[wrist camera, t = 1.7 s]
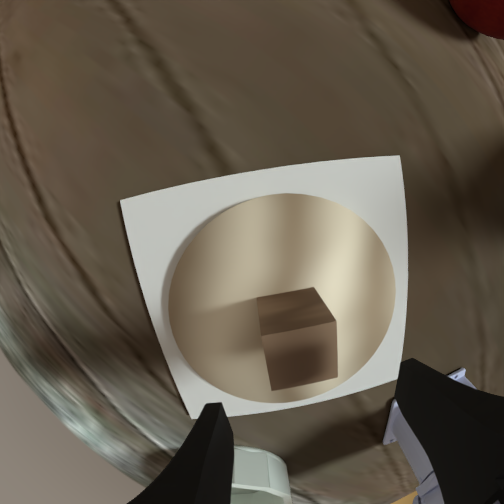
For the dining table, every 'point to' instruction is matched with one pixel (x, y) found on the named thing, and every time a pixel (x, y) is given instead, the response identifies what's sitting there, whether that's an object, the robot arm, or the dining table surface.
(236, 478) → the bowl
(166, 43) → the dining table surface
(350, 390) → the mat
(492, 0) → the apple
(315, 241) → the lid
